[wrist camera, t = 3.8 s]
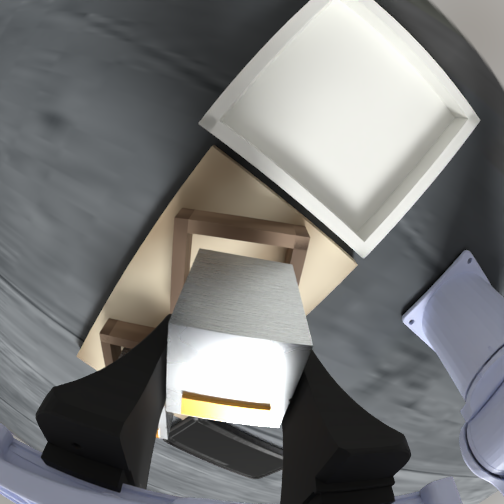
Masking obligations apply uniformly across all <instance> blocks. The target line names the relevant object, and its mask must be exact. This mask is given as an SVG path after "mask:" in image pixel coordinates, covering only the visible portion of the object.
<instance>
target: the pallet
mask: <svg viewBox="0 0 504 504" xmlns="http://www.w3.org/2000/svg"><path fill="white" fill-rule="evenodd" d="M199 248H201V249H207V250H213V251H218V252H224V253H230V254H235V255H241V256H247V257H252V258H258V259H264V260H269V261H275V262H281V263H286V264H292V265H293V269H294V273H295V276H296V280H297V284H298V288H299V292H300V296H301V300H302V304H303V308H304V312H305V316H306V315H307V314H309V313H310V312H311V311H312V310H313V309H314V308H315V307H316V306H317V305H318V304H319V303H320V302H321V301H322V300H323V299H324V298H325V297H326V296H327V295H328V294H329V293H330V292H331V291H332V290H333V289H334V288H335V287H336V286H337V285H338V284H339V283H340V282H341V281H342V280H343V279H344V278H345V277H346V276H347V275H348V274H349V273H350V272H351V271H352V270H353V269H354V268H355V267H356V266H357V263H356V262H355V260H354V259H353V258H352V257H351V256H350V255H349V254H348V253H347V252H345V251H344V250H343V249H342V248H341V247H340V246H339V245H337V244H336V243H335V242H334V241H333V240H332V239H330V238H329V237H328V236H327V235H326V234H325V233H324V232H322V231H321V230H320V229H319V228H318V227H316V226H315V225H314V224H313V223H312V222H311V221H309V220H308V219H307V218H306V217H305V216H303V215H302V214H301V213H300V212H299V211H297V210H296V209H295V208H294V207H293V206H291V205H290V204H289V203H288V202H286V201H285V200H284V199H283V198H282V197H280V196H279V195H278V194H277V193H275V192H274V191H273V190H272V189H270V188H269V187H268V186H267V185H265V184H264V183H263V182H262V181H260V180H259V179H258V178H257V177H255V176H254V175H253V174H252V173H250V172H249V171H248V170H246V169H245V168H244V167H243V166H241V165H240V164H239V163H237V162H236V161H235V160H233V159H232V158H231V157H230V156H228V155H227V154H226V153H224V152H223V151H222V150H220V149H219V148H218V147H216V146H215V145H213V146H212V147H211V148H210V149H209V151H208V152H207V153H206V154H205V156H204V157H203V158H202V160H201V161H200V162H199V164H198V165H197V166H196V168H195V169H194V170H193V172H192V173H191V174H190V176H189V177H188V178H187V180H186V181H185V182H184V184H183V185H182V187H181V188H180V189H179V191H178V192H177V194H176V195H175V196H174V198H173V199H172V201H171V202H170V203H169V205H168V206H167V208H166V209H165V211H164V212H163V213H162V215H161V216H160V218H159V219H158V221H157V222H156V224H155V225H154V227H153V228H152V230H151V231H150V233H149V234H148V236H147V237H146V239H145V240H144V242H143V243H142V245H141V246H140V248H139V250H138V251H137V253H136V254H135V256H134V257H133V259H132V261H131V262H130V264H129V265H128V267H127V268H126V270H125V272H124V273H123V275H122V277H121V278H120V280H119V282H118V283H117V285H116V287H115V288H114V290H113V292H112V293H111V295H110V297H109V298H108V300H107V302H106V304H105V305H104V307H103V309H102V310H101V312H100V314H99V316H98V318H97V319H96V321H95V323H94V325H93V327H92V328H91V330H90V332H89V334H88V336H87V338H86V339H85V341H84V343H83V345H82V347H81V349H80V351H79V353H78V355H77V357H78V358H80V359H81V360H82V361H84V362H85V363H87V364H88V365H90V366H91V367H93V368H94V369H96V370H97V371H99V370H101V369H103V368H104V367H106V366H108V365H109V364H111V363H113V362H114V361H116V360H117V359H118V358H119V356H120V354H121V352H122V350H123V348H124V347H126V348H130V349H133V348H134V347H135V346H136V345H137V344H139V343H140V342H141V341H142V340H143V339H144V338H145V337H147V336H148V335H149V334H150V333H151V332H152V331H153V330H154V329H155V328H156V327H157V326H158V325H159V324H160V323H161V322H162V320H163V319H164V318H165V317H166V316H167V315H168V314H172V313H173V310H174V308H175V305H176V303H177V301H178V298H179V296H180V293H181V291H182V288H183V286H184V284H185V281H186V279H187V276H188V274H189V272H190V269H191V267H192V265H193V262H194V260H195V258H196V255H197V253H198V251H199ZM174 415H175V416H177V417H179V418H181V419H183V420H184V419H185V418H187V417H188V416H187V415H182V414H177V413H174Z"/></svg>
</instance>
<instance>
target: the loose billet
mask: <svg viewBox="0 0 504 504" xmlns="http://www.w3.org/2000/svg"><path fill="white" fill-rule="evenodd" d="M312 347H313V344H312V340H311V336H310V332H309V328H308V324H307V320H306V316H305V312H304V308H303V304H302V300H301V296H300V292H299V288H298V284H297V280H296V276H295V273H294V269H293V265H292V264H286V263H281V262H275V261H269V260H264V259H258V258H252V257H247V256H241V255H235V254H230V253H224V252H218V251H213V250H207V249H201V248H199V251H198V253H197V255H196V258H195V260H194V262H193V265H192V267H191V269H190V272H189V274H188V276H187V279H186V281H185V284H184V286H183V288H182V291H181V293H180V296H179V298H178V301H177V303H176V305H175V308H174V310H173V313H172V315H171V318H170V320H169V323H168V344H167V377H166V411H168V412H172V413H177V414H182V415H187V416H193V417H198V418H204V419H210V420H217V421H223V422H230V423H238V424H247V425H256V426H266V427H278V428H279V426H280V423H281V421H282V419H283V417H284V415H285V412H286V410H287V408H288V405H289V403H290V401H291V398H292V396H293V394H294V391H295V389H296V387H297V384H298V382H299V379H300V377H301V375H302V372H303V370H304V367H305V365H306V362H307V360H308V357H309V355H310V352H311V349H312Z"/></svg>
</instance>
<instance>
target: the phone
mask: <svg viewBox="0 0 504 504" xmlns="http://www.w3.org/2000/svg"><path fill="white" fill-rule="evenodd" d="M163 440H164V441H165V442H166V443H168V444H170V445H172V446H174V447H176V448H178V449H180V450H182V451H185V452H187V453H189V454H191V455H193V456H195V457H198V458H200V459H202V460H204V461H207V462H209V463H212V464H214V465H216V466H219V467H221V468H224V469H226V470H229V471H231V472H234V473H237V474H239V475H242V476H245V477H248V478H251V479H260V478H263V477H265V476H268V475H270V474H273V473H275V472H278V471H280V470H283V450H281V449H279V448H276V447H274V446H272V445H270V444H267V443H265V442H263V441H261V440H258V439H256V438H254V437H252V436H250V435H248V434H246V433H243V432H241V431H239V430H237V429H235V428H233V427H231V426H229V425H227V424H225V423H223V422H221V421H217V420H210V419H204V418H198V417H193V416H188V417H187V418H185V419H184V420H182V421H180V422H179V423H177V424H175V425H174V426H172V427H171V428H170V432H169V436H168V440H167V439H163Z"/></svg>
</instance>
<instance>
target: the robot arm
mask: <svg viewBox="0 0 504 504" xmlns="http://www.w3.org/2000/svg"><path fill="white" fill-rule="evenodd" d="M469 258H470V259H469ZM468 259H469V261H468ZM171 315H172V314H168V315H167V316H166V317H165V318H164V319H163V320H162V322H161V323H160V324H159V325H158V326H157V327H156V328H155V329H154V330H153V331H152V332H151V333H150V334H149V335H148V336H147V337H145V338H144V339H143V340H142V341H141V342H140V343H139V344H137V345H136V346H135V347H134V348H133V349H131V350H130V351H129V352H127V353H126V354H125V355H123V356H122V357H121V358H119V359H117V360H116V361H114V362H113V363H111V364H109V365H108V366H106V367H104V368H103V369H101V370H99V371H97V372H95V373H93V374H90V375H88V376H86V377H83V378H81V379H78V380H76V381H73V382H69V383H66V384H63V385H59V386H55V387H53V388H52V389H51V391H50V392H49V393H48V394H47V396H46V397H45V399H44V400H43V402H42V404H41V405H40V407H39V409H38V411H37V413H36V420H37V423H38V425H39V427H40V429H41V431H42V432H43V434H44V436H45V438H46V439H47V441H48V442H47V444H46V446H45V449H44V451H43V453H42V452H40V451H38V450H36V449H34V448H32V447H30V446H28V445H26V444H24V443H22V442H20V441H18V440H16V439H14V438H13V435H12V434H11V432H10V431H9V430H8V428H6V427H5V426H4V425H3V424H1V423H0V494H1V495H3V496H5V497H6V498H8V499H9V500H11V501H13V502H14V503H16V504H260V503H244V502H232V501H222V500H214V499H206V498H195V497H186V498H183V497H178V496H173V495H168V494H163V493H159V492H154V491H150V490H146V488H147V482H148V475H149V469H150V464H151V458H152V453H153V448H154V443H155V438H156V434H157V429H158V425H159V420H160V417H161V413H162V410H163V407H164V405H165V402H166V377H167V344H168V323H169V320H170V318H171ZM410 320H412V321H411V322H409V321H410ZM402 321H403V322H404V324H405V325H407V326H408V327H409V328H410V329H411V330H412V331H413V332H414V333H415V334H416V335H418V336H419V337H420V338H421V339H422V340H423V341H424V342H425V343H426V344H427V345H428V346H430V347H431V348H432V349H433V350H434V351H435V352H436V353H437V355H438V357H439V358H440V360H441V361H442V363H443V365H444V366H445V368H446V370H447V371H448V373H449V375H450V376H451V378H452V380H453V381H454V383H455V385H456V386H457V388H458V390H459V391H460V393H461V395H462V397H463V398H464V400H465V402H466V403H465V405H464V407H463V408H462V410H461V411H460V412H461V414H462V415H463V417H464V419H465V421H466V422H465V423H464V425H463V426H462V428H461V431H460V436H459V443H460V449H461V452H462V456H463V458H464V461H465V463H466V464H467V466H468V467H469V469H470V470H471V471H472V472H473V473H474V474H475V475H477V476H478V477H480V478H482V479H484V480H486V481H488V482H490V483H491V484H492V485H494V486H495V487H496V488H497V489H498V490H499V491H500V492H501V494H503V496H504V297H503V296H502V295H500V294H499V293H498V292H497V291H496V290H495V289H494V288H493V287H492V286H491V284H490V282H489V281H488V279H487V277H486V276H485V274H484V272H483V271H482V269H481V267H480V266H479V264H478V263H477V261H476V260H475V258H474V256H473V255H472V253H471V252H470V251H468V250H464V251H463V252H462V253H461V255H460V256H459V257H458V258H457V259H456V260H455V261H454V263H453V264H452V265H451V266H450V267H449V268H448V269H447V270H446V271H445V273H444V274H443V275H442V276H441V277H440V278H439V279H438V280H437V281H436V282H435V283H434V284H433V285H432V286H431V288H430V289H429V290H428V291H427V292H426V293H425V294H424V295H423V296H422V297H421V298H420V299H419V300H418V301H417V302H416V303H415V304H414V305H413V306H412V307H411V308H410V309H409V310H408V311H407V312H406V313H405V314H404V315H403V316H402ZM282 429H283V472H282V489H281V501H280V504H463V503H462V501H461V498H460V495H459V492H458V489H457V487H456V484H455V481H454V479H453V477H452V476H450V477H447V478H443V479H440V480H436V481H433V482H431V483H429V484H427V485H426V486H424V487H423V488H422V489H421V490H420V491H418V492H413V493H409V494H404V495H399V496H394V494H393V490H392V486H393V485H394V483H395V481H394V477H393V476H394V475H395V474H396V473H397V472H398V471H399V470H400V469H401V468H402V467H403V466H405V464H406V463H407V462H408V461H409V459H410V457H411V452H410V449H409V446H408V443H407V440H406V438H405V436H404V434H402V433H400V432H398V431H396V430H395V429H393V428H391V427H389V426H387V425H386V424H384V423H382V422H381V421H379V420H378V419H376V418H375V417H374V416H372V415H371V414H369V413H368V412H367V411H366V410H364V409H363V408H362V407H361V406H360V405H358V404H357V403H356V402H355V401H354V400H353V399H352V398H351V397H350V396H349V395H348V394H347V393H346V392H345V391H344V390H343V389H342V388H341V387H340V386H339V385H338V384H337V383H336V382H335V380H334V379H333V378H332V377H331V376H330V374H329V373H328V372H327V370H326V369H325V368H324V366H323V365H322V363H321V362H320V361H319V359H318V358H317V356H316V355H315V353H314V352H313V350H312V349H311V352H310V355H309V357H308V360H307V362H306V365H305V367H304V370H303V372H302V375H301V377H300V379H299V382H298V384H297V387H296V389H295V391H294V394H293V396H292V398H291V401H290V403H289V405H288V408H287V410H286V412H285V415H284V417H283V419H282Z"/></svg>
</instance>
